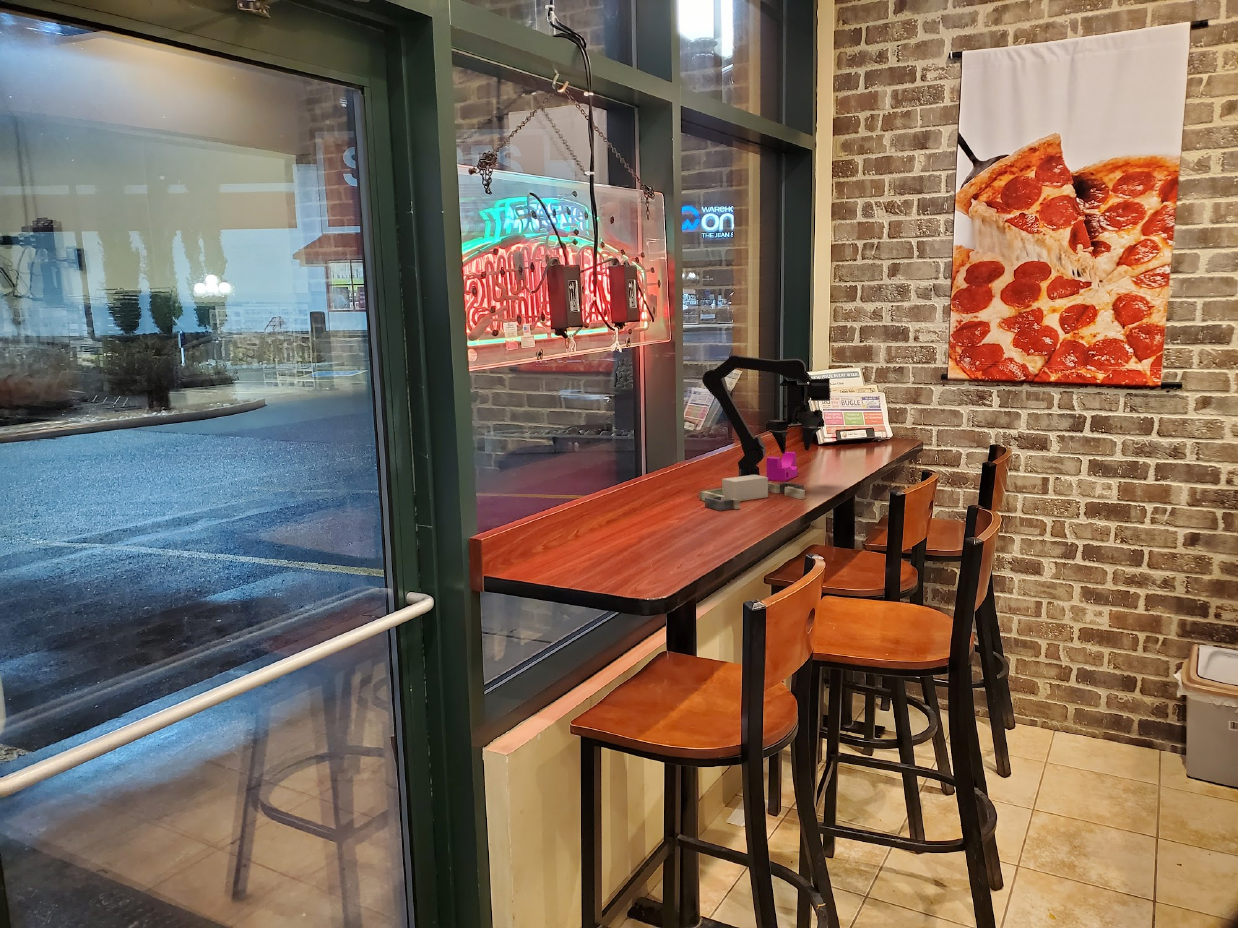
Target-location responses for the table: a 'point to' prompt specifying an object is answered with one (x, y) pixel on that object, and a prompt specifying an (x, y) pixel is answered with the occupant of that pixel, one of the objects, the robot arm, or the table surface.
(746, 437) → the robot arm
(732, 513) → the table surface
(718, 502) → the trap lane
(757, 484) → the push block
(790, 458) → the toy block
